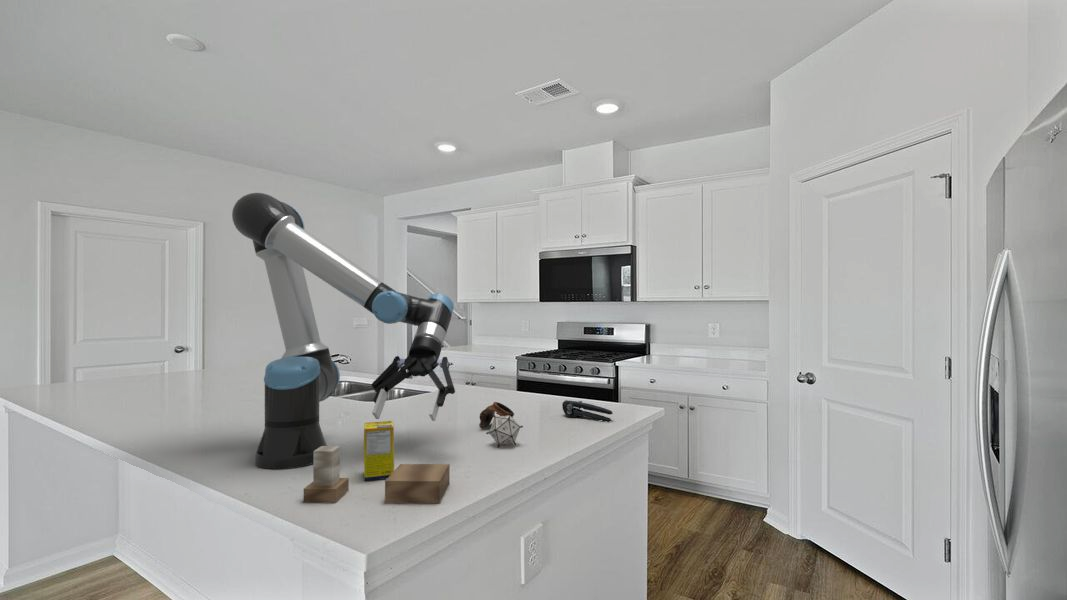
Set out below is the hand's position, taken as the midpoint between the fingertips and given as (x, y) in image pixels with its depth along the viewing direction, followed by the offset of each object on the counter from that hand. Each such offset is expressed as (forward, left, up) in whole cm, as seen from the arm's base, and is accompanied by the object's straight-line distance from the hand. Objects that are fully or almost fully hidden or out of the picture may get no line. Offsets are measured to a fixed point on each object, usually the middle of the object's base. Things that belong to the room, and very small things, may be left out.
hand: (403, 417), depth 115 cm
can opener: (+46, +49, -11) cm, 68 cm away
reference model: (-9, -19, -11) cm, 24 cm away
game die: (+22, +17, -11) cm, 30 cm away
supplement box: (-3, -7, -11) cm, 14 cm away
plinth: (+8, -17, -11) cm, 22 cm away
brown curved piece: (+17, +37, -11) cm, 42 cm away
